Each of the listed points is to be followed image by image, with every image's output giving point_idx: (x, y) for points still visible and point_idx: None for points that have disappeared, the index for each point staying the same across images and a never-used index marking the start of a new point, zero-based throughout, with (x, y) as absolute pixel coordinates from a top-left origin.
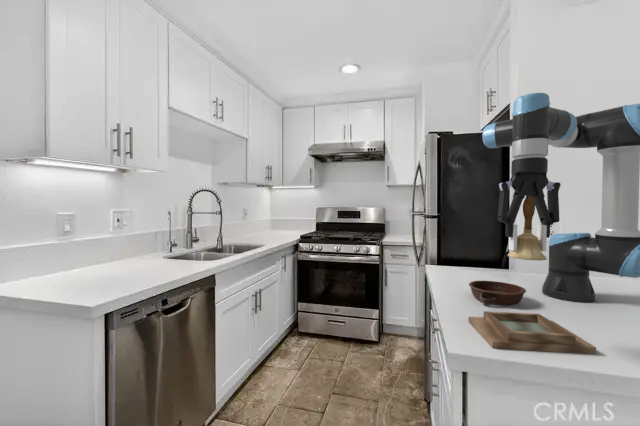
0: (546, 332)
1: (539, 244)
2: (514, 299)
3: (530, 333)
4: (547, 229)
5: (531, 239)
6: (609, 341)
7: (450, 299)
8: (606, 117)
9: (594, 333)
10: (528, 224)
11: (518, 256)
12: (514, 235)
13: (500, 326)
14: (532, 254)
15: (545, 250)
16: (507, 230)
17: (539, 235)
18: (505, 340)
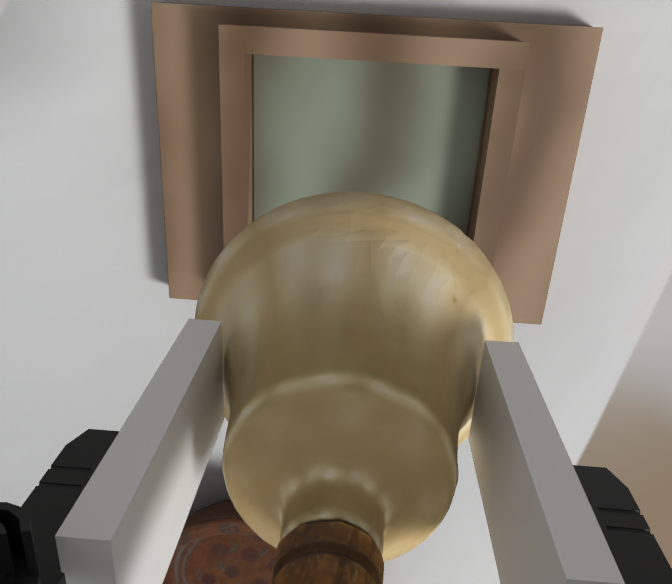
0: (278, 153)
1: (206, 415)
2: (214, 512)
3: (422, 40)
4: (57, 512)
5: (355, 367)
6: (25, 141)
7: (470, 563)
8: None
9: (40, 220)
10: None
11: (487, 276)
12: (562, 449)
13: (514, 132)
14: (373, 244)
15: (191, 325)
16: (648, 553)
17: (176, 491)
18: (530, 47)
